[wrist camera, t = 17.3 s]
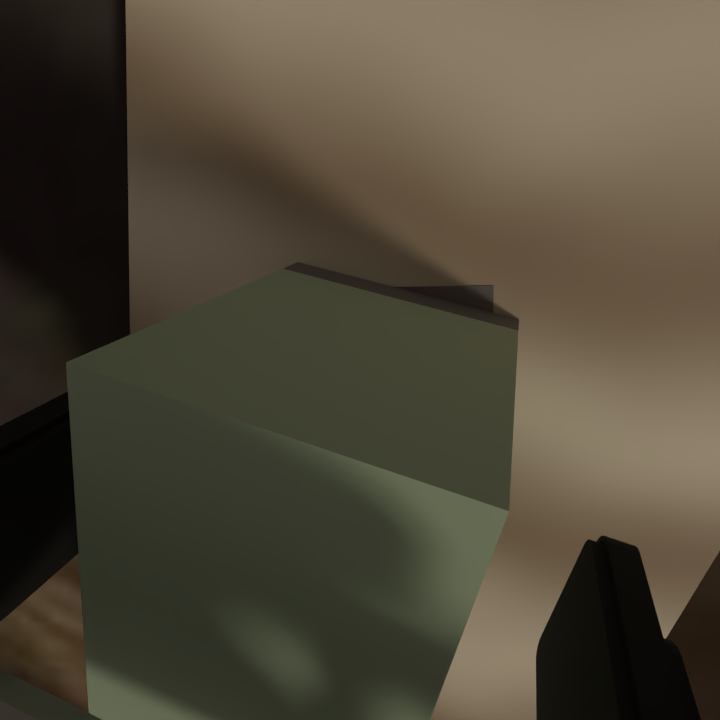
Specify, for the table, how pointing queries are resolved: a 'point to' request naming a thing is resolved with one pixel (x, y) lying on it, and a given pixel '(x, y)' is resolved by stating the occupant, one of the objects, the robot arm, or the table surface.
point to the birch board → (473, 242)
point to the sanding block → (289, 500)
